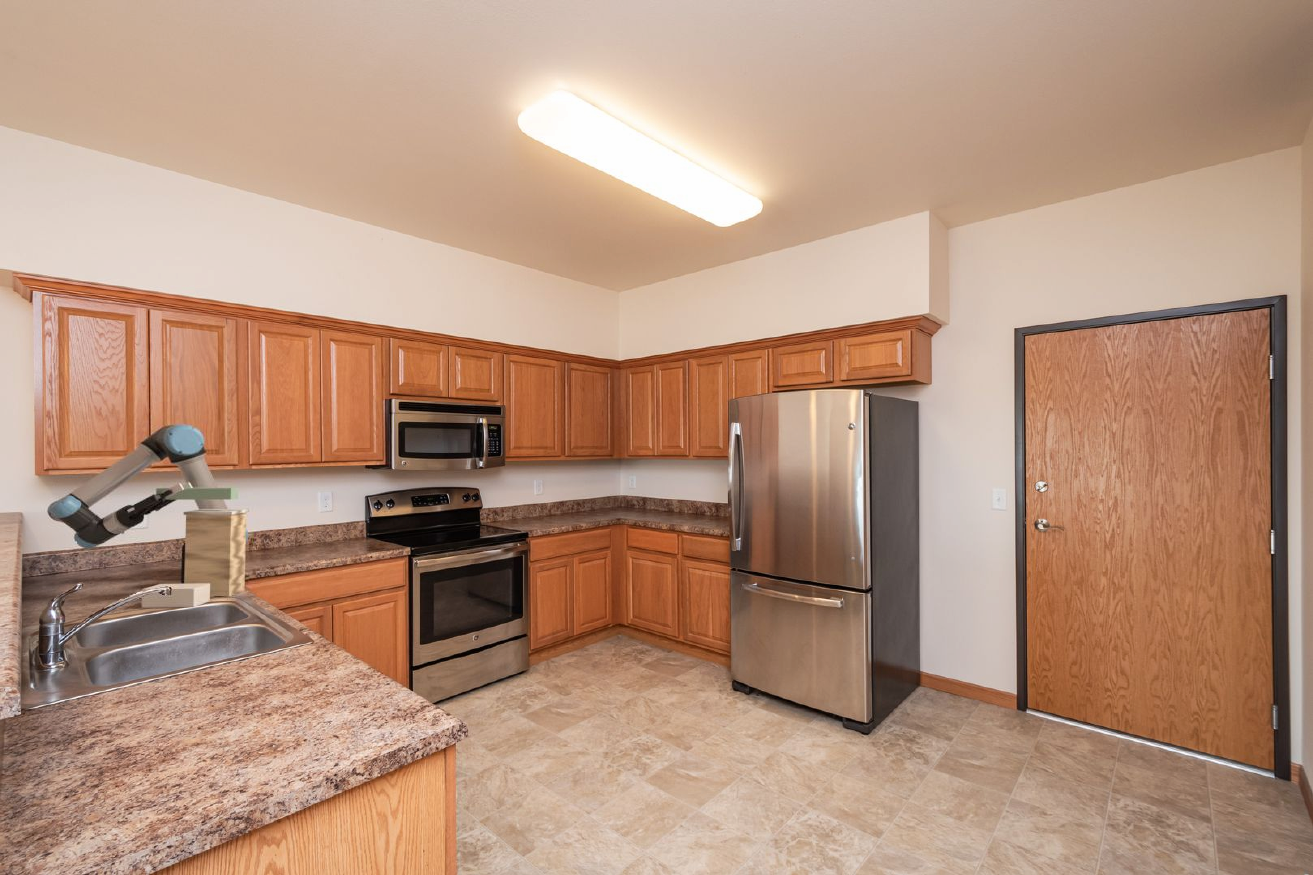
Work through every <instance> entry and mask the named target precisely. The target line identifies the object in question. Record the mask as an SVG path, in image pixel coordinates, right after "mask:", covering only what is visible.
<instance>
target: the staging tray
mask: <svg viewBox="0 0 1313 875" xmlns="http://www.w3.org/2000/svg"><path fill="white" fill-rule="evenodd" d="M165 586H168V587H171V588H172V594H171V595H167V596H164V595H162V594H159V593H156V594H153V595H146V596H144V597H142V596H141V608H142V609H144V608H146V609H147V608H148V609H151V608H152V609H153V608H155V609H157V608H196V607H197V606H200V605H202V604H205V603H208V602H210V601H211V600H210V599H211V597H210V583H197V584H181V583H158V584H156V585H153V586H149V587H145V588H142V589H141V592H142V591H146V590H150V589H155V588H160V587H165Z"/></svg>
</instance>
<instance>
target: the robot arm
mask: <svg viewBox="0 0 1313 875" xmlns="http://www.w3.org/2000/svg"><path fill="white" fill-rule="evenodd" d="M204 444H205V438H204V435H203V433H202V432H201V431H200V430H199V429H198V428H197V427H194V426H193V425H188V424H184V423H182V424H181V423H178V424H170V425H165V426H163V427H161V428H159V429H158V430H156V431H155V432H153V433H152V434H150V435H149V436H148V437H146V438H145V439H144V440H142V441H141V442H139V443H138V445H137V448H135V449H134V450H133V451H131V452H130V453H128V454H127V455H125V456H124V457H122V458H120V459H119V460H117V461H115V462H114V463H113V464H112V465H111V466H109V467H107V468H106V469H104V470H102V471H101V472H99V473H98V474H97V475H96V476H94V477H92V478H91V479H89V480H87V481H86V482H85V483H83V484H82V485H80V486H79V487H77V488H76V489H74V490H73V491H71V492H70V493H68V494H67V495H66V496H64V497H61V498H59V499H58V500H56V501H53V502H52V503H50V504H49V506H48V508H47V515H48V516H49V518H50V519H52V520H54V521H56V522H59V523H63V524H65V525H66V526H67V527H69V528H71V529H72V530H73V531H74V532H75V533H74V536H73V538H74V539H73V540H74V541H75V542H76V544H77V545H78V546H79V547H81V548H83V549H93V548H96V547H98V546H100V545H102V544H105V543H106V542H108V541H109V540H111V539H113V538H115V537H116V536H119V535H120V534H122V535H123V534H125V531H128V530H129V529H132V528H134V527H135V526H138V525H139V524H141V523H142V522H144V519H145V516H147V515H149V514H151V513H152V512H154V511H155V512H159V511H160V510H161V509H163V508H165V507H166V506H168V505H170V504H172V503H173V502H176V501H177V500H165V499H168V498H170V497H172V496H173V495H175V494H177V493H179V492H181V491H183V490H184V488H219V487H218V485H217V483H216V481H215V478H214V477H213V475H212V473H211V470H210V468H209V466H208V464H207V461H206V460H205V457H206V455H207V450H206V449H205V446H204ZM166 458H168V459H169V462H170V463H171V465H174V466H177V467H178V469H179V471H180V473H181V475H182V478H183V480H184V481H185V484H183V485H182V482H181V483H180V482H179V483H177V484H175V485H173V486H171V487H168V488H169V489H167V490H165V491H163V492H162V494H161V493H158V494H157V495H156V493H154V494H152V495H149V496H148V497H146V498H144V499H142V500H140V501H138V502H136V503H134V504H127V505H125V506H123V507H121V508H119V509H117V510H115V511H113V512H112V513H110V514H107V515H106V516H104V517H100V516H99V515H98V514H96V513H95V512H93V511H92V510H91V509H90V508H91V507H92V506H93V505H94V504H97V503H98V502H100V501H101V500H102V499H104V498H105V497H107V496H108V495H110V493H112V492H114V491H115V490H117V489H118V488H120V487H122V485H124V484H125V483H127V482H129V481H130V480H131V479H132V478H134V477H136V476H138V474H140V473H141V472H143V471H144V470H146V469H147V468H149V467H150V466H151V465H153V464H154V463H161V462H162V461H163V460H165V459H166ZM164 498H165V499H164ZM194 502H195V504H196V506H197V508H198V510H201V509H229V508H228V506H227V504H226V502H225V500H194ZM248 538H249V532H248V529H247V528H246V542H247V541H248Z"/></svg>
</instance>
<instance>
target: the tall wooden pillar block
mask: <svg viewBox="0 0 1313 875" xmlns="http://www.w3.org/2000/svg"><path fill="white" fill-rule="evenodd" d="M247 513H249V509H247V508H245V509H244V508H241V509H239V508H234V509H233V508H230V509H229V508H228V509H201V510H199V509H195V510H189V511H183V515H184V516H185V538H184V539H185V572H184V584H197V583H210V598H215V597H214V596H230V597H232V595H233V596H235V595H237V594H240V593H242V592H245V590H246V589H245V588H246V587H245V584H246V582H245V581H246V580H245V579H246V578H245V577H246V550H247V549H246V547H247V546H246V545H247V544H246V543H247V541H246V529H247Z"/></svg>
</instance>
